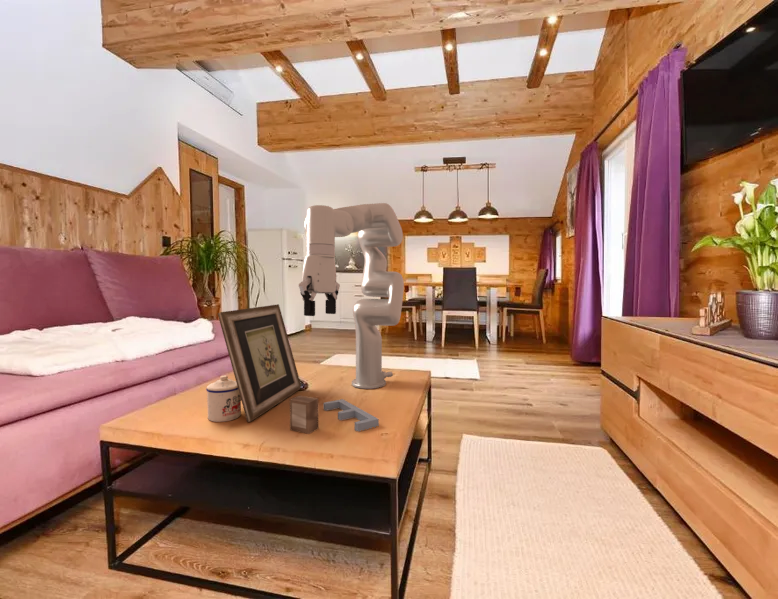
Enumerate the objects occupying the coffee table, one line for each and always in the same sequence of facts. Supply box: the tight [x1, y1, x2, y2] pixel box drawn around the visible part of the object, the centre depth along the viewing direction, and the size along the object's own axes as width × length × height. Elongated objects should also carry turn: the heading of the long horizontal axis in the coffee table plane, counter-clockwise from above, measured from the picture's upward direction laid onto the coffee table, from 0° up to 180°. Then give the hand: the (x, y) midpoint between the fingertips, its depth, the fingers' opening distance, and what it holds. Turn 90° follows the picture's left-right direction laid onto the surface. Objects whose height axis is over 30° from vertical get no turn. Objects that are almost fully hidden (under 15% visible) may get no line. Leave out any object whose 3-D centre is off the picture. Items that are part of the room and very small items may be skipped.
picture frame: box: [217, 304, 302, 423], centre depth 122 cm, size 33×10×30 cm, turn 168°
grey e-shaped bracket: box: [323, 398, 380, 432], centre depth 110 cm, size 6×20×2 cm, turn 34°
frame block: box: [289, 395, 319, 435], centre depth 101 cm, size 4×6×8 cm
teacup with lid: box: [205, 375, 242, 423], centre depth 111 cm, size 12×9×12 cm
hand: (320, 314), depth 107 cm, fingers open, 9 cm apart
